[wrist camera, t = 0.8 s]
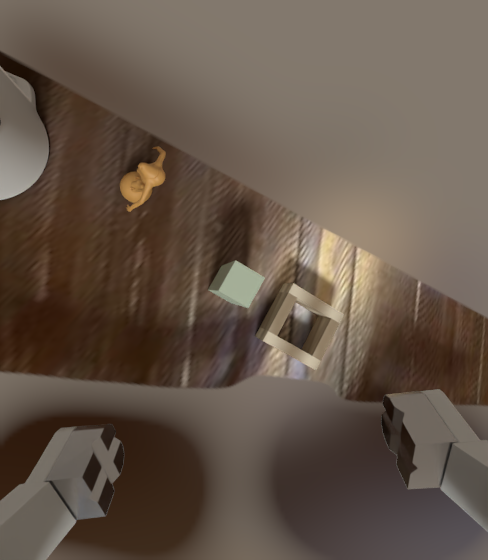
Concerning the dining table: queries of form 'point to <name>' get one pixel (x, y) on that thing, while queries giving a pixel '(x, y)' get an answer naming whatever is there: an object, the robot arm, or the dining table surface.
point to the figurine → (143, 181)
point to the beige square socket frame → (319, 332)
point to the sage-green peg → (236, 283)
